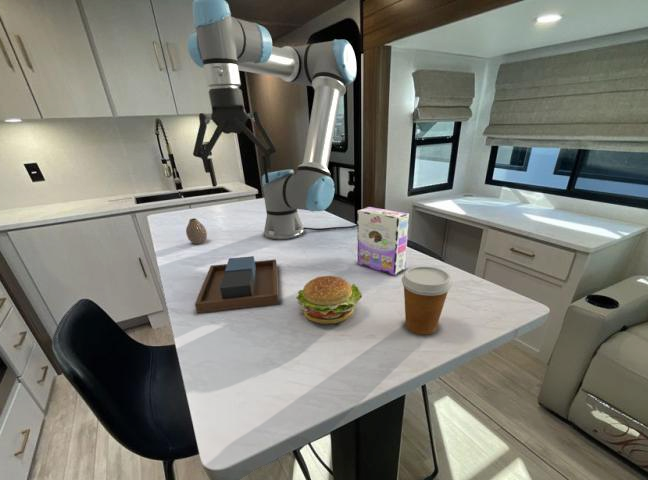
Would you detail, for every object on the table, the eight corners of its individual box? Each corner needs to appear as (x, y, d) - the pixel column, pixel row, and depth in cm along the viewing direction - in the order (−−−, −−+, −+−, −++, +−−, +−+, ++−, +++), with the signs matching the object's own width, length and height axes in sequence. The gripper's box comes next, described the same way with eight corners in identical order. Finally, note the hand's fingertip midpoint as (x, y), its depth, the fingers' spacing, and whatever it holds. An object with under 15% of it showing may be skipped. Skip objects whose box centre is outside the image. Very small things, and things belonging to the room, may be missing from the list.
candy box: (405, 269, 93) (410, 212, 85) (394, 276, 89) (398, 217, 81) (368, 258, 101) (369, 205, 93) (356, 263, 97) (356, 209, 89)
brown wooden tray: (277, 266, 97) (276, 259, 96) (278, 304, 78) (277, 295, 76) (212, 273, 95) (210, 265, 93) (197, 313, 75) (194, 304, 74)
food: (313, 336, 66) (310, 303, 62) (291, 305, 77) (288, 275, 73) (370, 319, 70) (371, 287, 66) (342, 292, 82) (342, 263, 78)
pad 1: (255, 268, 94) (253, 256, 92) (254, 281, 86) (252, 268, 84) (231, 271, 93) (228, 258, 91) (227, 284, 85) (224, 271, 83)
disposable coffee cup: (415, 344, 62) (422, 290, 56) (389, 320, 70) (392, 270, 64) (454, 332, 65) (464, 279, 59) (425, 310, 73) (431, 262, 67)
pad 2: (254, 283, 86) (252, 269, 84) (252, 299, 78) (250, 285, 76) (227, 286, 85) (224, 272, 83) (223, 302, 77) (219, 288, 75)
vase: (209, 243, 118) (204, 220, 114) (189, 246, 115) (183, 223, 111) (207, 238, 123) (202, 215, 119) (188, 241, 121) (182, 218, 117)
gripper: (163, 88, 69) (189, 190, 80) (279, 85, 73) (289, 183, 83) (172, 91, 75) (195, 184, 86) (278, 88, 79) (287, 178, 90)
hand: (241, 184), depth 85 cm, fingers open, 13 cm apart
